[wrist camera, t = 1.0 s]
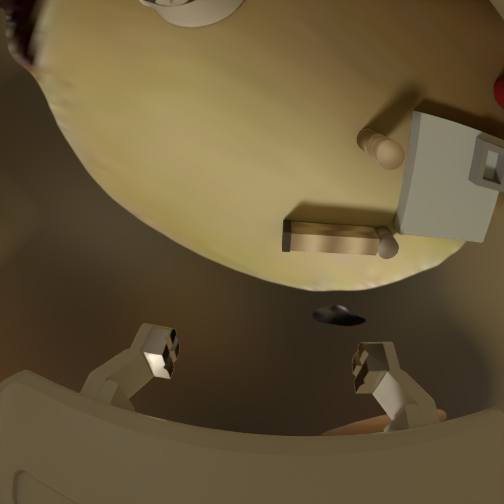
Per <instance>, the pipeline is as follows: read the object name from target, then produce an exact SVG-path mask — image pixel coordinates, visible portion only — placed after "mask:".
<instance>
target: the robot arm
mask: <svg viewBox="0 0 504 504" xmlns="http://www.w3.org/2000/svg"><path fill="white" fill-rule="evenodd" d="M139 1H140V2H141V3H142V4H143V5H145V6H148V7H151V8H154V9H155V10H156V11H157V12H158V13H159V14H160V15H161V16H162V17H163V18H164V19H165V20H166V21H168V22H170V23H172V24H175V25H178V26H183V27H199V26H205V25H209V24H212V23H215V22H217V21H220V20H222V19H224V18H225V17H227V16H228V15H230V14H231V13H233V12H234V11H235V10H236V9H237V8H238V7H239V6H240V5H241V4H242V2H243V1H244V0H139ZM176 334H177V333H176V330H175V329H173V328H167V327H162V326H156V325H151V324H146V323H144V324H143V325H141V327H140V329H139V331H138V333H137V335H136V337H135V339H134V341H133V343H132V345H131V347H130V349H126V350H124V351H123V352H121V353H120V354H118V355H117V356H115V357H114V358H113V359H111V360H109V361H108V362H106V363H105V364H103V365H102V366H100V367H98V368H97V369H95V370H94V371H92V372H91V373H90V374H89V376H88V378H87V380H86V382H85V384H84V386H83V388H82V390H81V392H80V394H79V393H77V392H74V391H72V390H69V389H67V388H65V387H62V386H60V385H57V384H56V383H53V382H51V381H49V380H47V379H45V378H42V377H41V376H38V375H36V374H35V373H33V372H30V371H27V370H24V371H21V372H19V373H17V374H15V375H13V376H11V377H9V378H8V379H6V380H4V381H3V382H1V384H0V504H504V414H503V413H502V412H501V411H500V410H498V409H497V408H490V409H487V410H483V411H480V412H477V413H474V414H471V415H467V416H464V417H460V418H456V419H452V420H448V421H444V422H439V418H438V414H437V410H436V406H435V402H434V400H433V399H432V398H431V397H430V396H429V395H428V394H427V393H426V392H425V391H424V390H423V389H422V388H421V387H420V386H419V385H418V384H417V383H416V382H415V381H414V380H413V379H412V378H411V377H410V376H409V375H408V374H407V373H406V372H405V371H403V370H400V366H399V363H398V359H397V356H396V352H395V349H394V345H393V343H392V342H365V343H364V342H363V343H362V342H361V343H360V344H359V346H358V352H357V353H355V355H354V357H353V362H352V371H353V374H354V375H355V376H356V378H355V380H354V386H355V392H356V393H373V395H374V397H375V398H376V399H377V401H378V402H379V403H380V405H381V406H382V407H383V409H384V410H385V411H386V413H387V414H388V415H389V417H390V418H391V419H392V422H391V423H390V424H389V425H388V426H387V427H386V428H385V429H384V432H382V433H373V434H362V435H348V436H324V437H293V436H272V435H258V434H247V433H237V432H229V431H222V430H215V429H208V428H202V427H196V426H191V425H186V424H181V423H176V422H172V421H167V420H163V419H159V418H155V417H151V416H147V415H143V414H139V413H136V412H134V407H133V406H132V404H131V403H130V402H129V400H128V399H129V398H130V397H131V396H132V395H133V394H134V393H136V392H137V391H138V390H139V389H140V388H141V387H142V386H144V385H145V384H146V383H147V382H148V381H149V380H150V379H151V378H152V377H153V376H157V377H163V378H168V379H170V378H171V375H172V372H173V370H174V365H173V362H174V361H176V360H177V358H178V355H179V341H178V340H177V339H176V338H175V337H176Z"/></svg>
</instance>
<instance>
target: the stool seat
mask: <svg viewBox="0 0 504 504" xmlns="http://www.w3.org/2000/svg"><path fill="white" fill-rule="evenodd" d="M499 191H500V192H504V140H502V139H499V138H497V137H494V136H492V135H489V134H487V133H484V132H482V131H479V130H476V129H474V128H471V127H468V126H465V125H462V124H459V123H456V122H453V121H450V120H446V119H443V118H440V117H436V116H433V115H429V114H425V113H422V112H418V111H414V110H413V115H412V125H411V133H410V141H409V148H408V155H407V161H406V167H405V173H404V178H403V184H402V189H401V194H400V199H399V203H398V208H397V212H396V217H395V221H394V225H393V226H394V227H395V229H396V230H397V232H398V233H399V234H402V235H414V236H424V237H435V238H445V239H455V240H464V241H474V242H483V240H484V237H485V235H486V232H487V229H488V226H489V223H490V220H491V217H492V214H493V210H494V207H495V204H496V200H497V197H498V193H499Z"/></svg>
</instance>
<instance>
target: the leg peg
mask: <svg viewBox="0 0 504 504" xmlns="http://www.w3.org/2000/svg"><path fill="white" fill-rule="evenodd" d="M357 143H358V145H359V147H360V148H361V149H362V150H364V151H365V152H366V153H367V154H368V155H370V156H371V157H372V158H373V159H374V160H375V161H377V162H378V163H379V164H380V165H381V166H382V167H384V168H385V169H388V170H394V169H397V168H398V167H400V166H401V164H402V163H403V161H404V150H403V148H402V146H401V145H400V144H399V143H397V142H395V141H394V140H392V139H390V138H388V137H386V136H384V135H382V134H380V133H379V132H377V131H375V130H373V129H370V128H366V129H363V130H361V131H360V132H359V134H358V136H357Z"/></svg>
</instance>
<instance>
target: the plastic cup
mask: <svg viewBox="0 0 504 504" xmlns="http://www.w3.org/2000/svg"><path fill="white" fill-rule="evenodd" d="M494 95H495V99H496V101H497V103H498V104H499V105H500V106H501V107H502V108H503V109H504V78H501V79H498V80H497V81H496V82H495V85H494Z"/></svg>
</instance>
